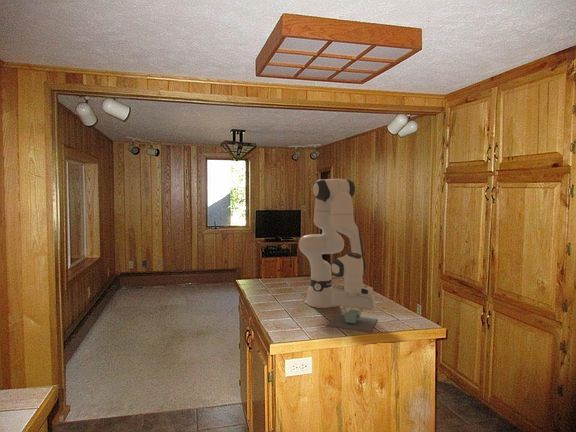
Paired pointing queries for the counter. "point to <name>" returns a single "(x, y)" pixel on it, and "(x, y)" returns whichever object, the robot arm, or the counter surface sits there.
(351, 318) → the teal rectangular block
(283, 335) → the counter surface
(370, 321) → the mat
